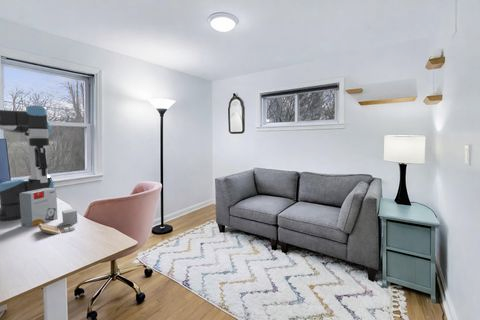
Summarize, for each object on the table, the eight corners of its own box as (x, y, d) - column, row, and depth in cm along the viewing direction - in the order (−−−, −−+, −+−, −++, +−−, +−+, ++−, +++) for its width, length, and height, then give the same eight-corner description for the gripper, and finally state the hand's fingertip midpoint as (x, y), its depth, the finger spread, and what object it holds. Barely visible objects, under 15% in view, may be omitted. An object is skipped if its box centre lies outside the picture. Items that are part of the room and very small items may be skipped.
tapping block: (62, 224, 139) (62, 210, 139) (75, 221, 144) (74, 208, 143) (65, 227, 135) (64, 213, 134) (77, 224, 139) (76, 210, 139)
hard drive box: (32, 229, 132) (29, 193, 130) (20, 228, 133) (17, 193, 131) (58, 219, 147) (56, 187, 145) (48, 219, 148) (46, 187, 146)
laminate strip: (57, 228, 132) (56, 226, 132) (70, 226, 137) (69, 223, 137) (61, 235, 124) (61, 232, 124) (75, 232, 128) (75, 229, 128)
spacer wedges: (64, 230, 126) (63, 228, 126) (73, 228, 129) (73, 226, 129) (64, 231, 125) (64, 229, 125) (74, 229, 128) (74, 227, 128)
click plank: (37, 225, 126) (39, 223, 127) (54, 229, 132) (56, 226, 132) (41, 231, 118) (42, 229, 118) (59, 235, 123) (60, 233, 123)
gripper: (26, 137, 124) (29, 178, 126) (31, 137, 107) (35, 185, 109) (44, 137, 130) (47, 177, 132) (52, 137, 113) (56, 183, 115)
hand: (42, 180), depth 121 cm, fingers open, 12 cm apart
